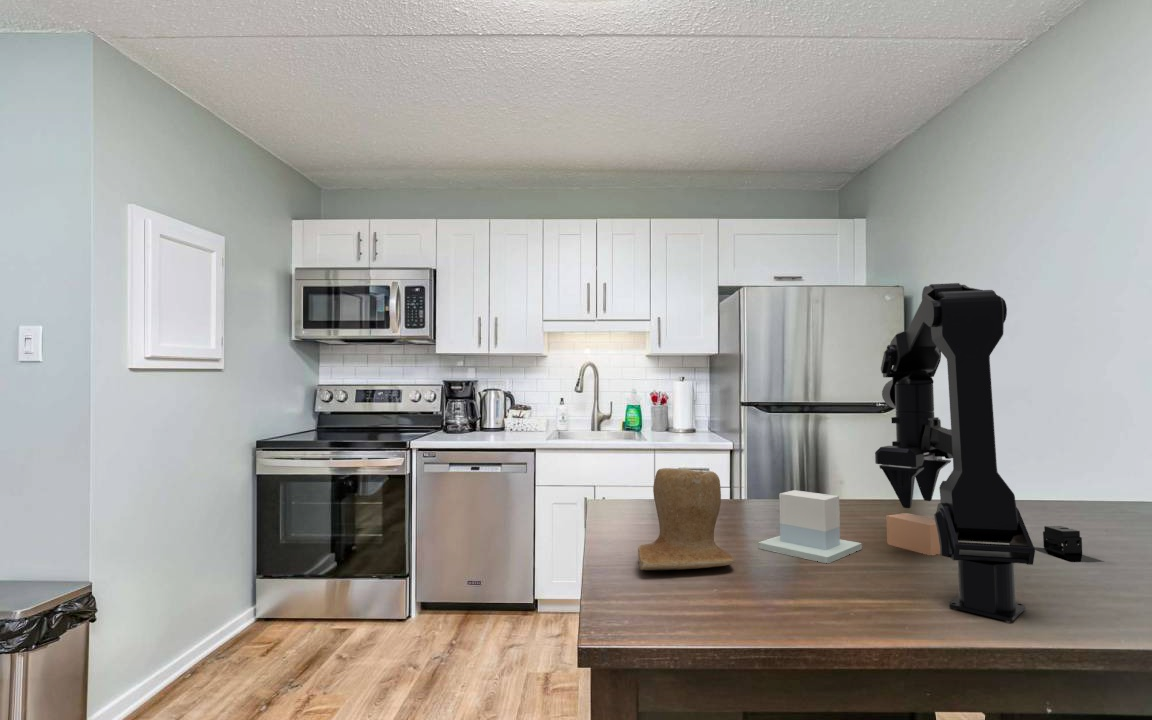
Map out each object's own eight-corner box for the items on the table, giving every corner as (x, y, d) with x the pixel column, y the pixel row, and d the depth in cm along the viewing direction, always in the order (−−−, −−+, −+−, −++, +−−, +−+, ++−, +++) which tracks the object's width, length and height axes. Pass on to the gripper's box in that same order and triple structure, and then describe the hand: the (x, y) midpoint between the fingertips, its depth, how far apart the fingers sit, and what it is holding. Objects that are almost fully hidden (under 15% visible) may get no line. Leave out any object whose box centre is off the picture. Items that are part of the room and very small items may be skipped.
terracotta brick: (930, 556, 97) (929, 525, 98) (887, 544, 105) (886, 515, 105) (951, 552, 99) (950, 522, 100) (907, 541, 107) (906, 512, 107)
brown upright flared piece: (713, 552, 100) (711, 461, 101) (743, 574, 88) (741, 471, 89) (623, 557, 98) (622, 463, 99) (642, 580, 86) (640, 474, 87)
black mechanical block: (1119, 568, 92) (1118, 537, 92) (1073, 569, 92) (1071, 538, 92) (1052, 546, 104) (1051, 519, 104) (1011, 547, 104) (1010, 520, 104)
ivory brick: (825, 531, 97) (824, 500, 97) (779, 523, 103) (779, 493, 103) (839, 526, 101) (839, 496, 101) (794, 518, 106) (794, 490, 107)
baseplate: (827, 563, 93) (827, 537, 93) (758, 548, 102) (757, 524, 102) (861, 549, 101) (861, 525, 101) (794, 536, 110) (794, 514, 110)
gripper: (949, 414, 91) (952, 520, 90) (986, 410, 103) (990, 503, 102) (872, 412, 99) (875, 509, 98) (915, 409, 111) (918, 495, 111)
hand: (917, 504), depth 102 cm, fingers open, 9 cm apart
